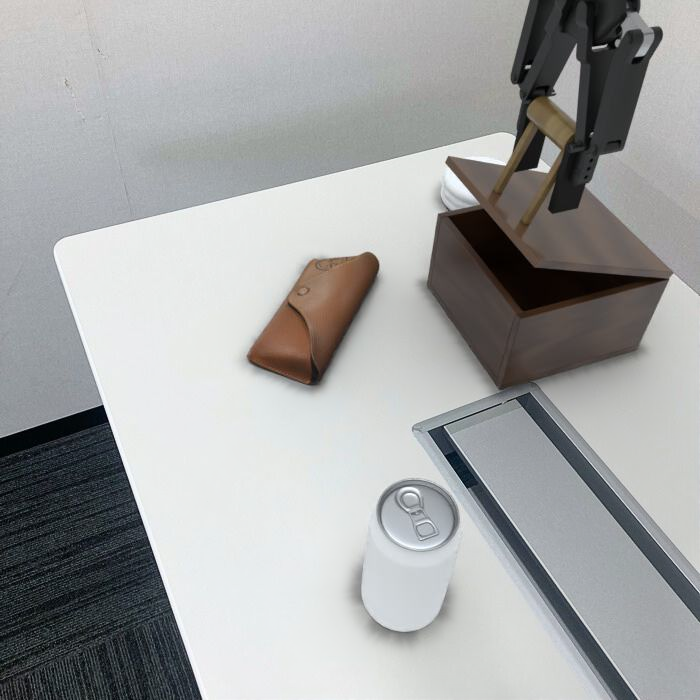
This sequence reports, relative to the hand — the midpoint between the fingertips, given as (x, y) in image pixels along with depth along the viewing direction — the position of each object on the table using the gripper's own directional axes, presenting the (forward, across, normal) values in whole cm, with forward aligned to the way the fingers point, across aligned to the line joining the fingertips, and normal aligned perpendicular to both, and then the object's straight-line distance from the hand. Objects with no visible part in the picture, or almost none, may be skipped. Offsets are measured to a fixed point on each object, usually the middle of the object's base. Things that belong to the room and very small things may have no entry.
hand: (542, 187), depth 69 cm
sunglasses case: (+17, -7, -19) cm, 27 cm away
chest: (+17, 0, +3) cm, 17 cm away
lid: (+4, 0, +3) cm, 5 cm away
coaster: (+17, -21, +8) cm, 28 cm away
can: (+17, +24, -24) cm, 38 cm away
